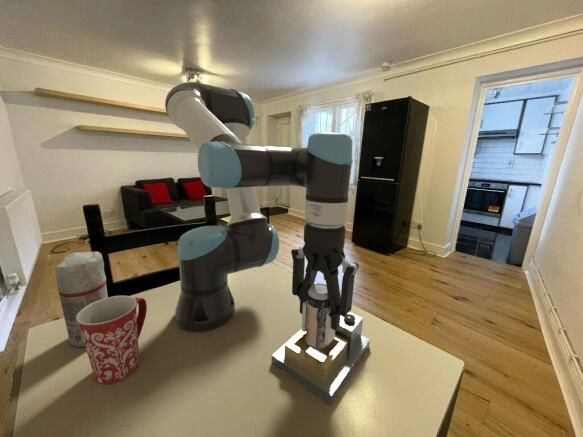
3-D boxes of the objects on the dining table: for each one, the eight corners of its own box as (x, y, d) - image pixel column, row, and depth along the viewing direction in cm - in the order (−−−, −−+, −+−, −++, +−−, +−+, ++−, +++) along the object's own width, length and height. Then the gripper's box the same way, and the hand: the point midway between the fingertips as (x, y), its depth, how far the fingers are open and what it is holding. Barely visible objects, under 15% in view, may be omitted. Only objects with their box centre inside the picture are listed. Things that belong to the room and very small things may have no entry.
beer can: (322, 354, 47) (326, 297, 44) (301, 343, 49) (303, 289, 47) (332, 339, 51) (336, 286, 48) (312, 330, 53) (315, 280, 51)
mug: (115, 394, 43) (105, 328, 40) (75, 383, 45) (62, 318, 42) (166, 344, 55) (161, 290, 52) (132, 336, 57) (125, 284, 54)
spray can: (118, 336, 57) (106, 255, 52) (71, 355, 51) (53, 266, 47) (109, 319, 63) (98, 245, 58) (66, 335, 57) (50, 254, 52)
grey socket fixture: (271, 363, 51) (272, 330, 49) (317, 321, 65) (319, 295, 63) (330, 405, 43) (334, 367, 41) (369, 347, 57) (373, 317, 55)
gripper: (274, 218, 47) (272, 324, 52) (364, 238, 36) (350, 369, 42) (298, 212, 53) (294, 309, 58) (381, 228, 42) (367, 344, 47)
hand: (317, 334), depth 50 cm, fingers closed on beer can, 5 cm apart
